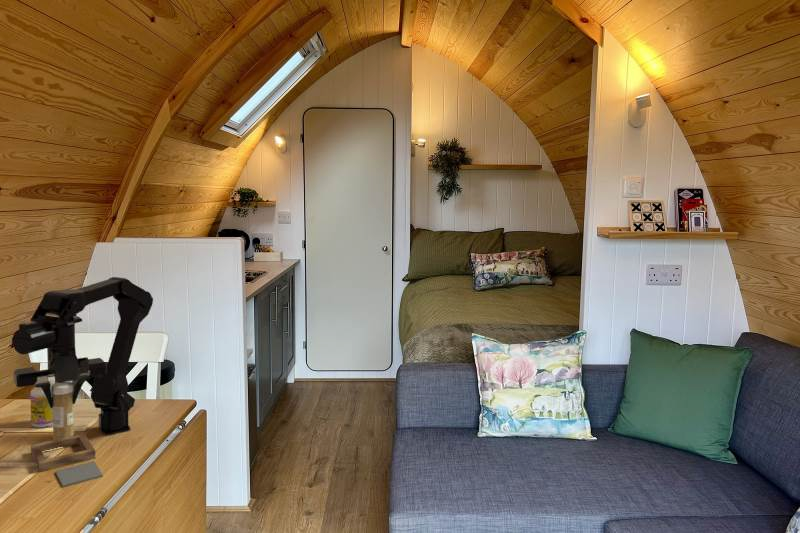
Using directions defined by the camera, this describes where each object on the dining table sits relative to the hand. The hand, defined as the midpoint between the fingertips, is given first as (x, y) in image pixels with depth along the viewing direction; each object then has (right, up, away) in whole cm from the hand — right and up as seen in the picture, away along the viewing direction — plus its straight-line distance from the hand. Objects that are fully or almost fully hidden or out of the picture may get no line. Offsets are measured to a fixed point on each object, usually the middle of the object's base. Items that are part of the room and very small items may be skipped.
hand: (62, 405), depth 133 cm
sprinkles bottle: (0, -8, +1) cm, 8 cm away
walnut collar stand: (-1, -13, +2) cm, 13 cm away
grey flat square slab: (+8, -14, -6) cm, 18 cm away
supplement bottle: (-16, -10, +19) cm, 27 cm away
